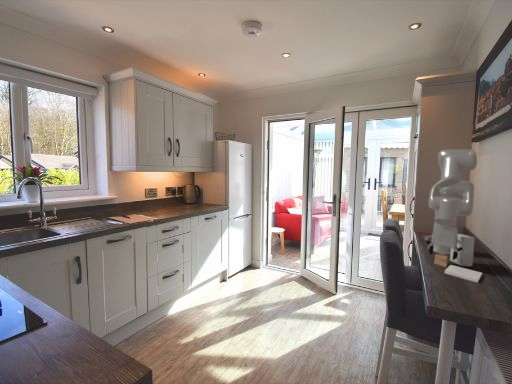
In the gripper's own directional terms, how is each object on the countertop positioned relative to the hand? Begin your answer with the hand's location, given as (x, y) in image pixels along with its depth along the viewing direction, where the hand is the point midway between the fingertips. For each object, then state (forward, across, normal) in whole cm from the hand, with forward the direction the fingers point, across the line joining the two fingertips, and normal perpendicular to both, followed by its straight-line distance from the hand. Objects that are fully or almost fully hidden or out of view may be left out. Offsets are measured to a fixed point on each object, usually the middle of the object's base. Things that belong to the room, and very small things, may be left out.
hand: (442, 256), depth 132 cm
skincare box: (+4, +6, +11) cm, 13 cm away
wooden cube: (+4, 0, +1) cm, 4 cm away
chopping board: (+4, +10, -6) cm, 12 cm away
